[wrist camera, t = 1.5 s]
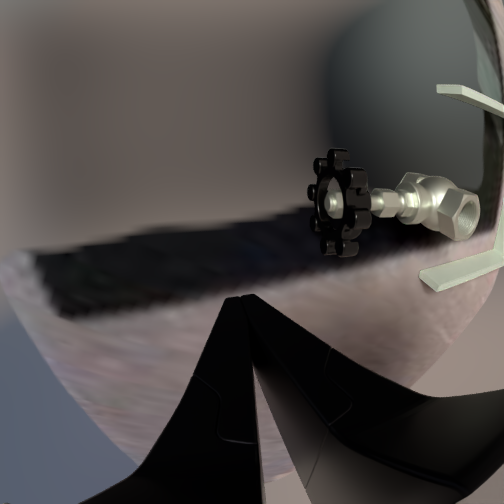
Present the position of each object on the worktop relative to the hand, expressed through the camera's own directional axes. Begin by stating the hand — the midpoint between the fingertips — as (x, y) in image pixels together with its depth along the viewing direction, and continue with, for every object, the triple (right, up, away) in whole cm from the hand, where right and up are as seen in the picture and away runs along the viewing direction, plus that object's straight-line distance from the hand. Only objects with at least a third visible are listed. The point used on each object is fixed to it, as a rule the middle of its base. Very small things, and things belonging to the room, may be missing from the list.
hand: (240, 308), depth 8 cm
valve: (+10, +6, +12) cm, 17 cm away
